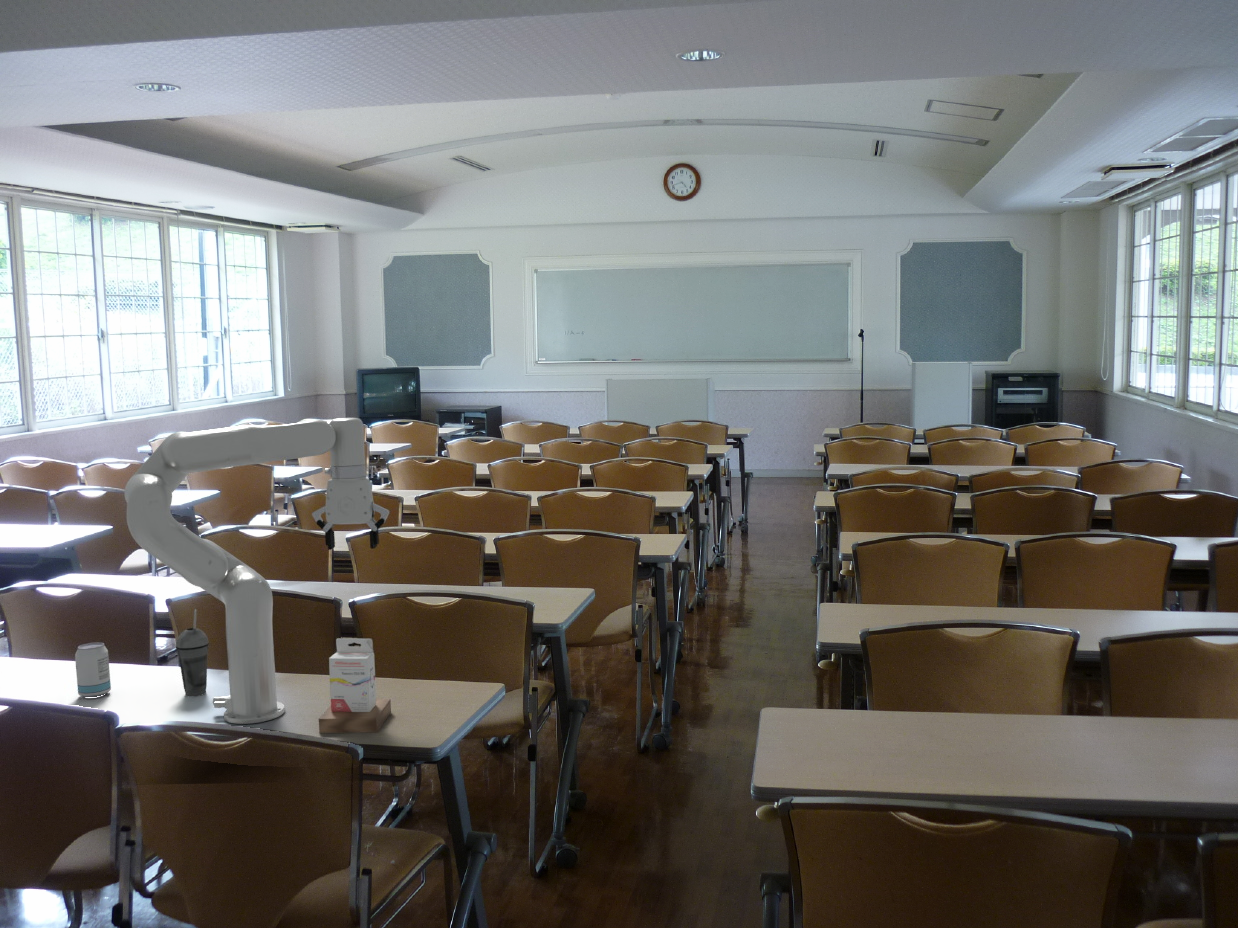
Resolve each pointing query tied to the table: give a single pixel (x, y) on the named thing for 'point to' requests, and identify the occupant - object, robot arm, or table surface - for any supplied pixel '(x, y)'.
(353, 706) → the ink cartridge box
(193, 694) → the beverage cup
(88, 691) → the beverage can
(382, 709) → the walnut base plate
